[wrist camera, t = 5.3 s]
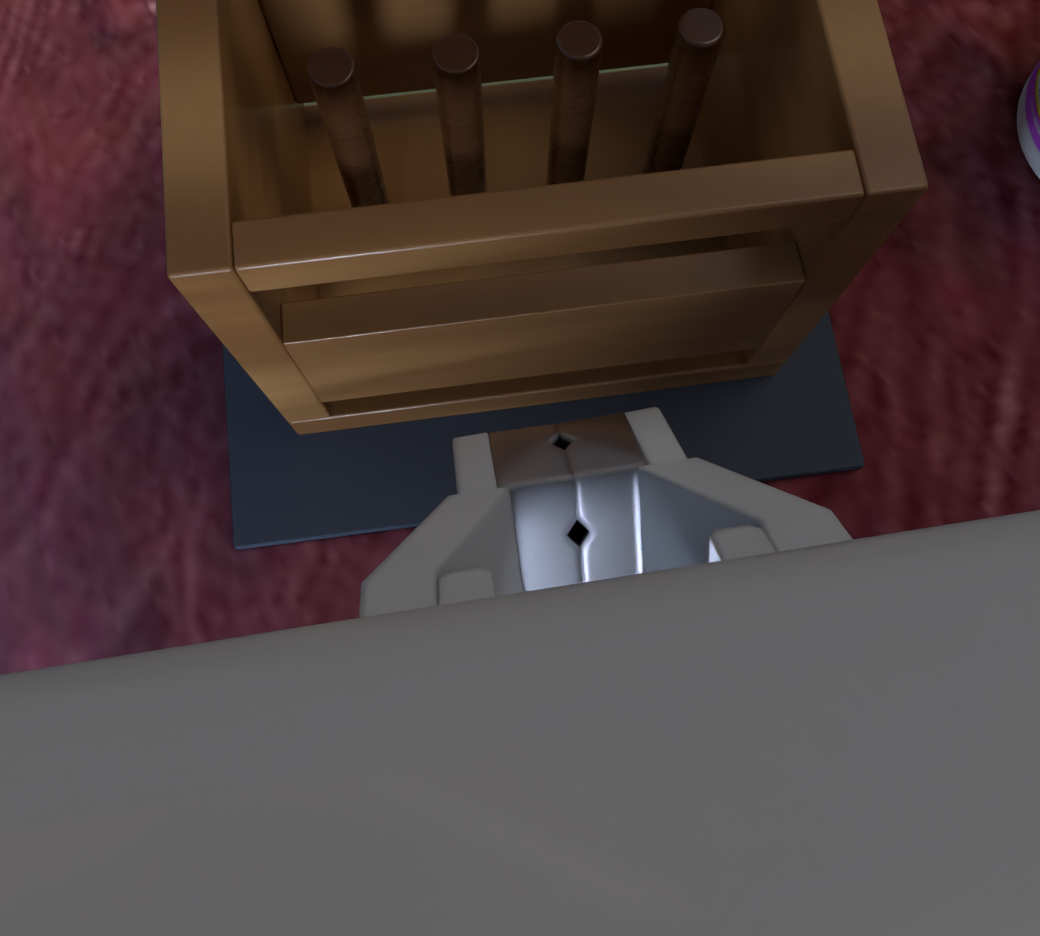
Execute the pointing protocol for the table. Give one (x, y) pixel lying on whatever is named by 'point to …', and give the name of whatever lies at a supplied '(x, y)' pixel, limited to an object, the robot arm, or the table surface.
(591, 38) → the rack
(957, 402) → the table surface
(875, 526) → the table surface
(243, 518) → the runner mat
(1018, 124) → the supplement bottle
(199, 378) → the table surface
